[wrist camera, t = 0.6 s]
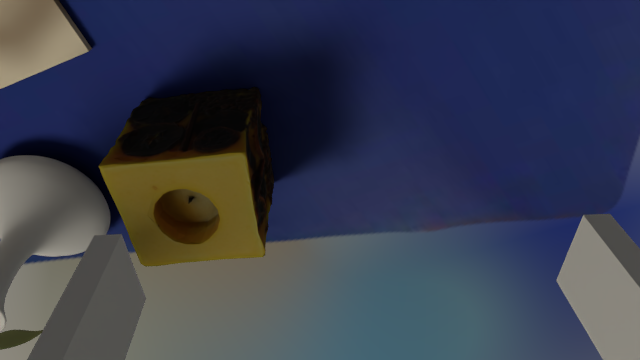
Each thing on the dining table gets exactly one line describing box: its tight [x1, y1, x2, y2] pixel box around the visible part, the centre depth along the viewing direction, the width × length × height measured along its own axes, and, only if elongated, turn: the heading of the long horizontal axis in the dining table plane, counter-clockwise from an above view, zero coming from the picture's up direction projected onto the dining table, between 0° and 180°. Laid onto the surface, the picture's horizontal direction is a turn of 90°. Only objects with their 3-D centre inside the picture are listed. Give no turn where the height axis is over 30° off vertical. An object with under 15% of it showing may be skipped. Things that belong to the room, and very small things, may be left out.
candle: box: [99, 87, 274, 266], centre depth 36 cm, size 10×10×10 cm
